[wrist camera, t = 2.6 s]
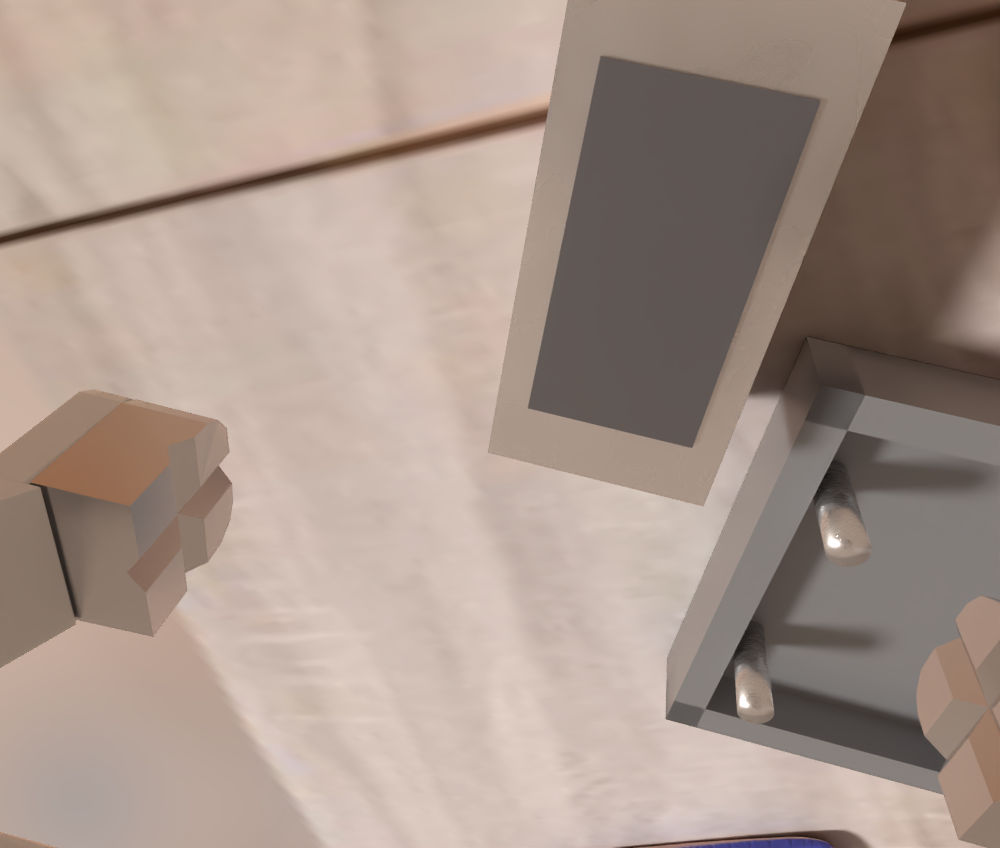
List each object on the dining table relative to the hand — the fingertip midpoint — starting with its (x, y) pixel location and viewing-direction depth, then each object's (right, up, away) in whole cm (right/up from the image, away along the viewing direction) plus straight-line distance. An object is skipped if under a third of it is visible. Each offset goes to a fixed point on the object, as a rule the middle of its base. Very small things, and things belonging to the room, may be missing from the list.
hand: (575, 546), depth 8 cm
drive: (+3, +7, +10) cm, 13 cm away
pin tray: (+11, -3, +14) cm, 18 cm away
